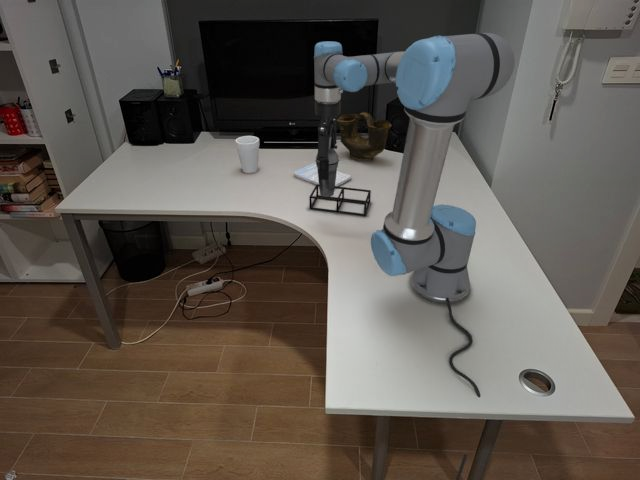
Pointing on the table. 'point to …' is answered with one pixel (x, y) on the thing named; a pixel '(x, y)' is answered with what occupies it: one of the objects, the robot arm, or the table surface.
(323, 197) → the rack
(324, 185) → the beverage cup
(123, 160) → the table surface
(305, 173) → the calculator
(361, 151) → the pottery vessel
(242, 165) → the foam cup
